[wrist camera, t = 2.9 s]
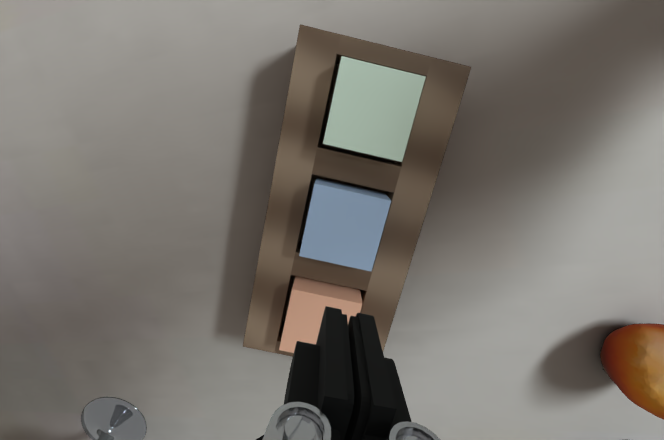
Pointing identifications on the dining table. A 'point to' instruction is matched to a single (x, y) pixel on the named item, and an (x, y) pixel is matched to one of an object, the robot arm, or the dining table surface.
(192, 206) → the dining table surface
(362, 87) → the sage key
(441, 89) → the key panel
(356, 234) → the slate key
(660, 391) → the fruit
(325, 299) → the terracotta key
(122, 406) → the wine glass
